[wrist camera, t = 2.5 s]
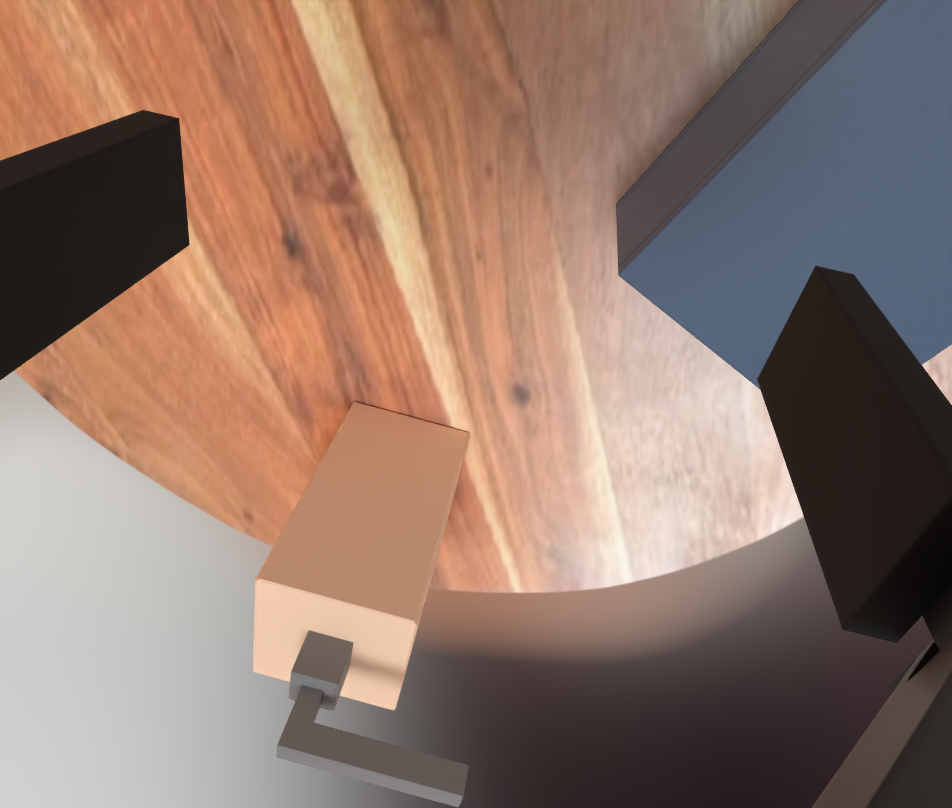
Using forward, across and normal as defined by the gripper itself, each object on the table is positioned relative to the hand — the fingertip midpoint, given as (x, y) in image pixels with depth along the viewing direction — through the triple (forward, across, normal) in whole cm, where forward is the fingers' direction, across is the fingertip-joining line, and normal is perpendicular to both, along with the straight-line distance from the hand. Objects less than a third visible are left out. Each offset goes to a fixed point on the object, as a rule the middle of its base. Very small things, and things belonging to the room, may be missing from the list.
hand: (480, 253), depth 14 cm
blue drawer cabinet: (+24, +14, -2) cm, 28 cm away
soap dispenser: (+24, -3, -28) cm, 37 cm away
